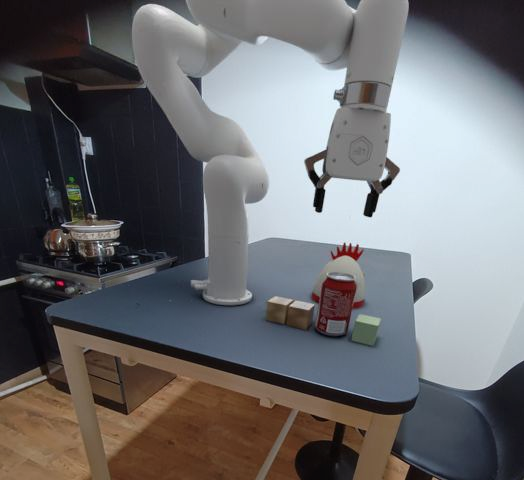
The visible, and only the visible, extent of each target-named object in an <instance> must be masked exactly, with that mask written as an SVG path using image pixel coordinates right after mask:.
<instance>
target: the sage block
mask: <svg viewBox="0 0 524 480" xmlns="http://www.w3.org/2000/svg"><path fill="white" fill-rule="evenodd" d="M381 321H382V318H381V317H376V316H371V315H366V314H362V313H359V314H358V316H357V317H356V319H355V321H354V326H353V330H352V335H351V339H350V341H352V342H355V343H359V344H363V345H367V346H371V347H374V345H375V343H376V341H377V337H378V333H379V329H380V325H381Z"/></svg>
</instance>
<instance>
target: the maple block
mask: <svg viewBox="0 0 524 480" xmlns="http://www.w3.org/2000/svg"><path fill="white" fill-rule="evenodd" d="M293 302H294V299H291V298H286V297H281V296H276V295H275V296H272V298H270V299H269V300H267V303H266V305H267V306H266V317H265V320H266V321H269V322H273V323H277V324H281V325H285V324H287V319H288V310H289V306H290V305H291V304H292V303H293Z"/></svg>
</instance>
